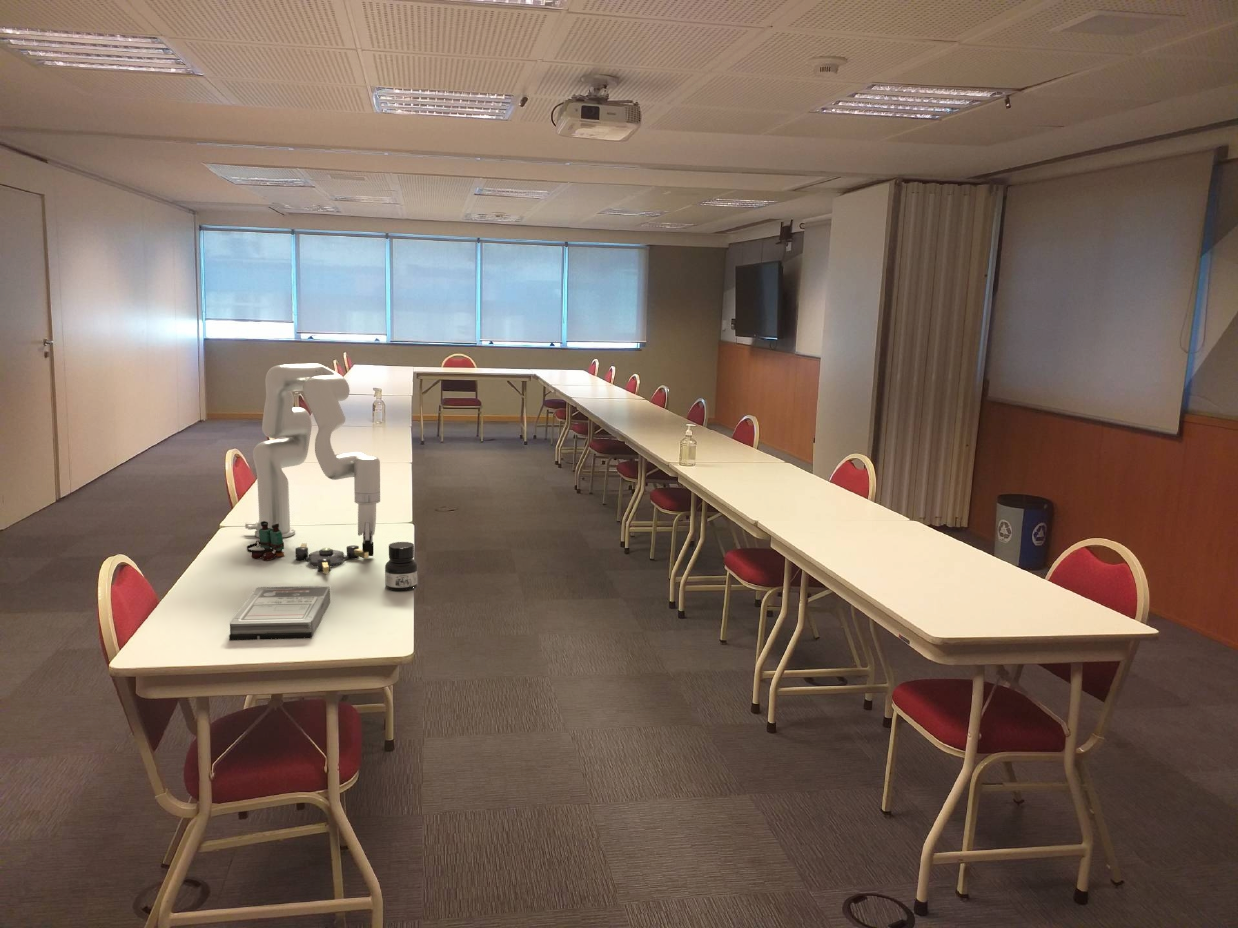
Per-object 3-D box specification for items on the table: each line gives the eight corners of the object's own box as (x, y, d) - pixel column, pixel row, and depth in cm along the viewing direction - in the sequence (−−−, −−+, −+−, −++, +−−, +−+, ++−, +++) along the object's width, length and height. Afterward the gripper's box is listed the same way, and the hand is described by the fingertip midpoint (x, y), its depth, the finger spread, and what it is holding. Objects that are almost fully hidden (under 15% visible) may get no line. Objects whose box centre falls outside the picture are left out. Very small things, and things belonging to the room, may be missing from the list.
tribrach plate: (303, 569, 262) (302, 555, 261) (307, 558, 272) (306, 545, 272) (346, 567, 264) (345, 554, 264) (348, 556, 275) (348, 543, 275)
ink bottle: (382, 592, 243) (382, 549, 241) (384, 582, 252) (384, 541, 250) (419, 591, 245) (419, 548, 243) (420, 581, 254) (419, 540, 251)
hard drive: (229, 642, 207) (228, 623, 206) (257, 603, 233) (257, 587, 232) (311, 640, 209) (311, 622, 209) (331, 602, 236) (330, 585, 235)
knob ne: (344, 557, 274) (344, 546, 274) (354, 554, 277) (354, 544, 277) (361, 563, 269) (361, 552, 269) (371, 560, 272) (371, 550, 271)
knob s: (317, 569, 262) (316, 558, 261) (330, 568, 263) (329, 557, 263) (319, 577, 254) (319, 566, 253) (333, 576, 255) (332, 565, 255)
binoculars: (239, 528, 267) (264, 518, 275) (243, 561, 270) (269, 550, 278) (261, 532, 263) (286, 522, 272) (265, 566, 266) (290, 554, 275)
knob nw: (307, 560, 270) (307, 549, 269) (295, 560, 269) (294, 550, 269) (310, 552, 278) (310, 542, 278) (298, 552, 278) (297, 542, 277)
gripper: (355, 491, 277) (356, 548, 280) (353, 502, 263) (354, 562, 266) (380, 491, 279) (381, 548, 282) (379, 502, 265) (380, 562, 268)
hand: (368, 555), depth 274 cm, fingers closed
